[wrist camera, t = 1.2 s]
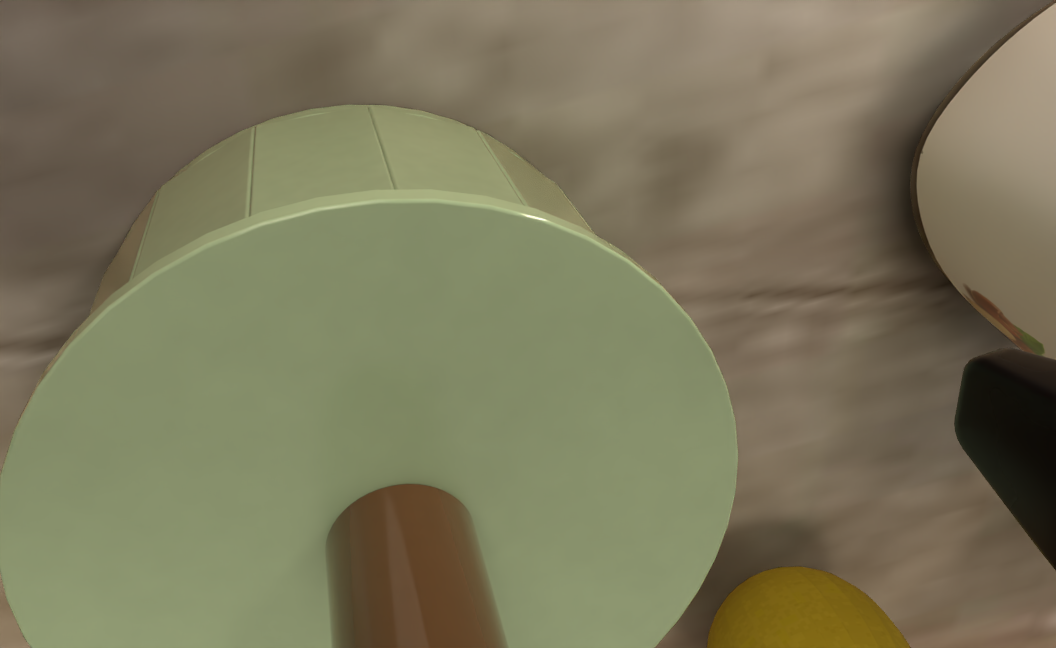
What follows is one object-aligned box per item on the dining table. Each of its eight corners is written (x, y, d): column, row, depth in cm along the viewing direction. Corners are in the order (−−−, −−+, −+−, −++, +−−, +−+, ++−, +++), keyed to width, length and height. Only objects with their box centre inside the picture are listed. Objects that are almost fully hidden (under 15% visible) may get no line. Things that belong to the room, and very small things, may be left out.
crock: (579, 59, 20) (695, 153, 15) (615, 476, 26) (708, 657, 20) (17, 160, 18) (-95, 310, 13) (190, 582, 24) (165, 811, 19)
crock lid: (710, 106, 15) (891, 227, 10) (719, 646, 21) (833, 860, 17) (-134, 267, 13) (-339, 495, 9) (151, 806, 19) (115, 1094, 15)
